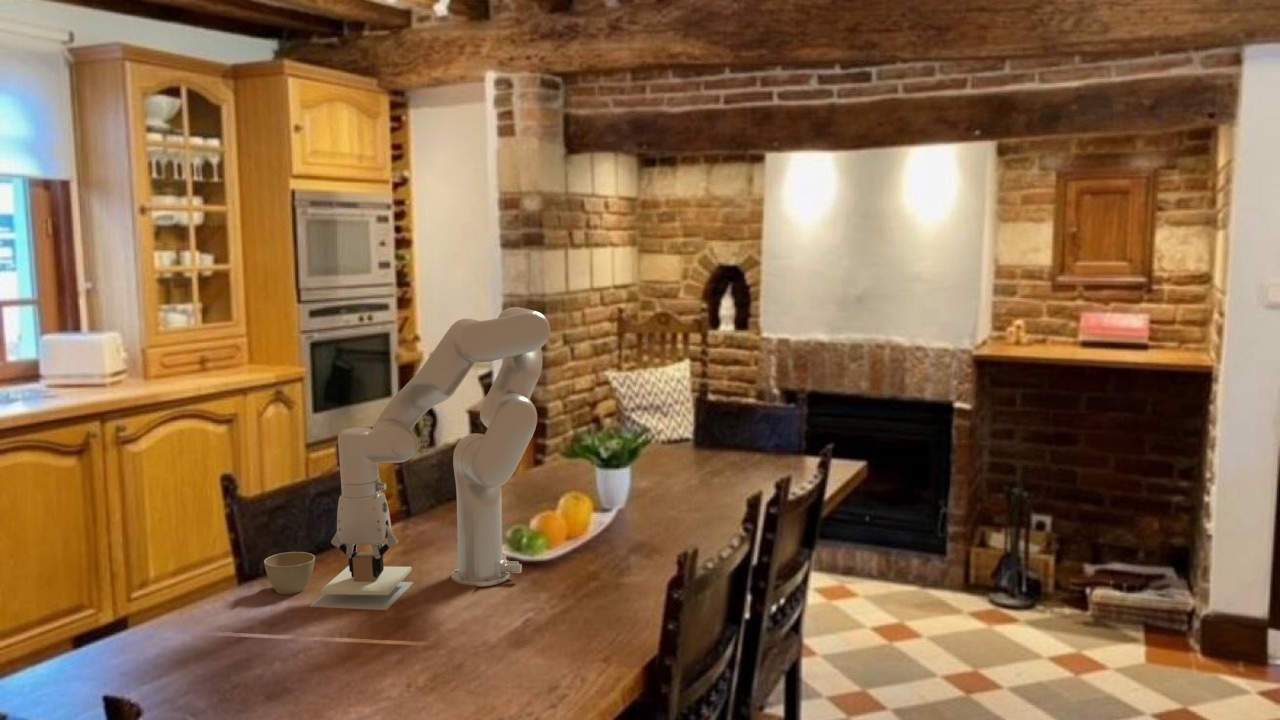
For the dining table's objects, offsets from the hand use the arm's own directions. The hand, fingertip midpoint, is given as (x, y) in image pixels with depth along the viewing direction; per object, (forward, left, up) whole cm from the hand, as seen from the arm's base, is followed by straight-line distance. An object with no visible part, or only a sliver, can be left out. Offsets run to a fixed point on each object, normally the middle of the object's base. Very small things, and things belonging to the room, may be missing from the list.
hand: (366, 574), depth 208 cm
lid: (0, 0, -2) cm, 2 cm away
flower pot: (+17, 0, -5) cm, 17 cm away
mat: (+1, +1, -5) cm, 5 cm away
